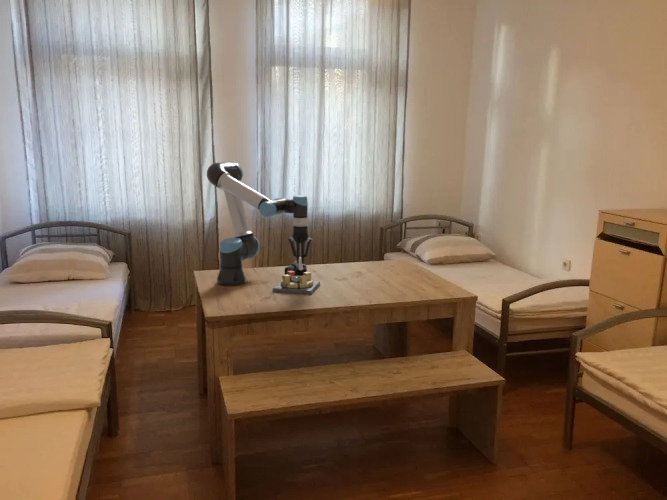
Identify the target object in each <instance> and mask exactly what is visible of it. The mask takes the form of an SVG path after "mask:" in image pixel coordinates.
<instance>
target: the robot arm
mask: <svg viewBox="0 0 667 500" xmlns="http://www.w3.org/2000/svg"><path fill="white" fill-rule="evenodd" d="M243 176H244V171H243V168H242V167H241V166H240V165H239V163H236V162H233V161H226V162H223V161H222V162H214V163H212V164H211V165H209V167H207V170H206V177H207V179H208V181H209V183H210V184H211V185H213V186H214V187H215V188H218V189H220V190H222V191H223V192H224V196H225V200H226V201H225V202H226V204H227V209H228V212H229V217H230V220H231V226H232V230H233V235H232V236H231V237H229V238H224V239H222V240H221V241H220V242H219V272H218V275H217V278H216V283H217V284H218V285H219V286H228V287H232V286H240V285H244V284H245V283H246V282H247V281H246V276H245V272H244V270H243V261H245V260H248V259H249V260H250V259H252V258H254V257H256V256H257V255H258V254H259V252H260V249H261V244H260V241H259V239H258V238H257V237H256V236H255V235H254V232H253V231H252V230H250V226H249V223H248V218H247V214H246V208H245V205H244V202H245V203H247V204H248V205H250V206H252V207H254V208H255V209H257V210H258V211H259V213H260V214H261V216H263V217H273V216H277V215H282V214H292V216H293V217H292V224H293V227H292V230H293V231H292V232H293V234H292V236H291V237H289V238H288V241H289V243H290V247H291V251H292V255H293V257H295V258H296V261H297V263H299V270H302V269H303V264H305V260H306V259H305V258H306V257H308V256H309V253H310V249H311V245H312V242H313V241H314V239H313V238H310V237H309V233H308V232H309V228H308V226H309V225H308V223H309V222H308V220H309V219H308V218H309V217H308V212H309V211H308V206H309V204H308V197H307V196H306V195H294V196H293V197H292V199H291V198H274V199H273V200H272V199H270V198H269V197H267V196H265V195H263V194H262V193H260V192H258V191H257V190H255V189H253V188H252V187H250V186H248V185H246V184H244V183H243V182H242V179H243ZM294 241H295V242H294ZM306 241H307V244H306ZM295 244H296V245H295ZM305 244H306V245H305ZM305 246H306V247H305Z"/></svg>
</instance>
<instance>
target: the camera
mask: <svg viewBox="0 0 667 500" xmlns="http://www.w3.org/2000/svg"><path fill="white" fill-rule="evenodd" d="M307 268H308V267H307V265H306V264H305V263H304V264H303V269H302V270H299V263H297V260H293V261H292V263H291V265H290V266H287V267H286V266H285V267H284V275H287V271H294V272H295V276H303V273H304V272H308V269H307Z"/></svg>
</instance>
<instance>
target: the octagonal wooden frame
mask: <svg viewBox="0 0 667 500" xmlns="http://www.w3.org/2000/svg"><path fill="white" fill-rule="evenodd" d="M292 276H295V272H294V271H287V275H285V274H282V277H281V278H282V279H281V280H280V282H281V285H282V286H284V287H288V288H306V287H311V286H312V285H313V281H314V280H313V278H312V272H310V271H307V272H304V273H303V276H299V283H293V282H291V277H292Z"/></svg>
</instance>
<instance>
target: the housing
mask: <svg viewBox="0 0 667 500" xmlns="http://www.w3.org/2000/svg"><path fill="white" fill-rule="evenodd" d="M291 282H293V283H299V276H292V277H291ZM319 286H321V281H319V280H313V285H312V286H311V287H306V288H288V287H284V286H282V285H281V281H280V282H278V283H276V285H275V286H273V287H272V292H273V293H281V294H282V293H285V294H293V295H294V294H296V295H312V294H313V293H314V292H315V291H316V290H317V289H318V287H319Z"/></svg>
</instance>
